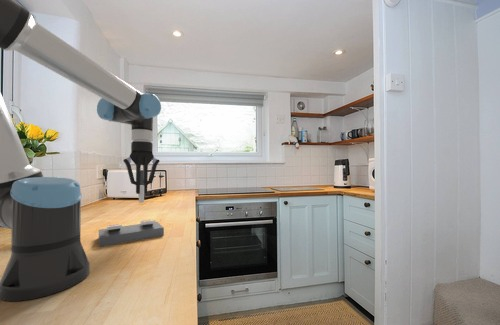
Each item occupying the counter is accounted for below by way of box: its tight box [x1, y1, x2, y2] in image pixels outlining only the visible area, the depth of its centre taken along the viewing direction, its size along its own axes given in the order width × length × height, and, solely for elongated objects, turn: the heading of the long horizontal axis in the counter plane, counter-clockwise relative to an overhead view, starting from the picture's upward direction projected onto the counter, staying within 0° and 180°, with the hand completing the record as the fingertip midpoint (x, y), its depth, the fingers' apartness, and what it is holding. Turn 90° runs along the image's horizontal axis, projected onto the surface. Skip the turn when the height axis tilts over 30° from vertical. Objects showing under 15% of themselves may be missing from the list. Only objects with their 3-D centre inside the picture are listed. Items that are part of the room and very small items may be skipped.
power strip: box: [98, 221, 165, 248], centre depth 83 cm, size 11×20×4 cm, turn 125°
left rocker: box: [106, 223, 122, 230], centre depth 80 cm, size 7×4×1 cm, turn 35°
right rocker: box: [139, 219, 156, 225], centre depth 86 cm, size 7×4×1 cm, turn 35°
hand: (141, 202), depth 88 cm, fingers closed
